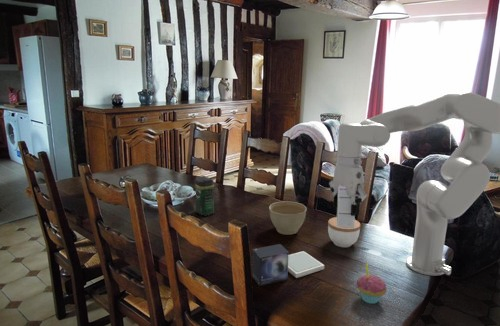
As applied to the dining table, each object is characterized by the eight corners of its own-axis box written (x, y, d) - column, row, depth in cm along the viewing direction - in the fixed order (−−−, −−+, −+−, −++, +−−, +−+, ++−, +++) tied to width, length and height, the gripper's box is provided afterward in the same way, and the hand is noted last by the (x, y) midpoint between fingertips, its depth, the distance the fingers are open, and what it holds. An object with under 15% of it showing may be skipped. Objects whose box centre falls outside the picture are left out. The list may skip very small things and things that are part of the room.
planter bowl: (271, 222, 164) (272, 200, 161) (306, 225, 161) (307, 202, 158) (266, 236, 148) (266, 212, 146) (304, 240, 145) (305, 215, 143)
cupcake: (354, 303, 104) (357, 267, 101) (356, 288, 112) (359, 254, 109) (385, 310, 101) (389, 273, 98) (385, 294, 109) (388, 259, 106)
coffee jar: (216, 214, 173) (216, 178, 169) (202, 217, 169) (201, 180, 164) (207, 208, 181) (206, 173, 177) (193, 211, 176) (192, 176, 172)
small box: (259, 287, 112) (260, 257, 110) (251, 277, 118) (251, 248, 116) (288, 280, 116) (289, 251, 114) (279, 270, 122) (280, 243, 120)
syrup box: (354, 228, 117) (357, 187, 114) (336, 227, 118) (338, 186, 115) (353, 221, 123) (355, 182, 119) (335, 220, 124) (337, 181, 120)
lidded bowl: (357, 252, 135) (360, 226, 132) (324, 247, 139) (326, 221, 137) (359, 239, 146) (361, 214, 144) (329, 234, 151) (330, 210, 148)
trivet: (324, 269, 123) (324, 264, 123) (296, 278, 117) (296, 273, 117) (303, 254, 133) (303, 250, 133) (276, 262, 128) (277, 257, 127)
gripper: (377, 164, 110) (373, 217, 114) (338, 154, 124) (336, 201, 128) (360, 167, 106) (356, 221, 110) (322, 157, 121) (320, 205, 125)
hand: (345, 210), depth 119 cm, fingers closed on syrup box, 7 cm apart
